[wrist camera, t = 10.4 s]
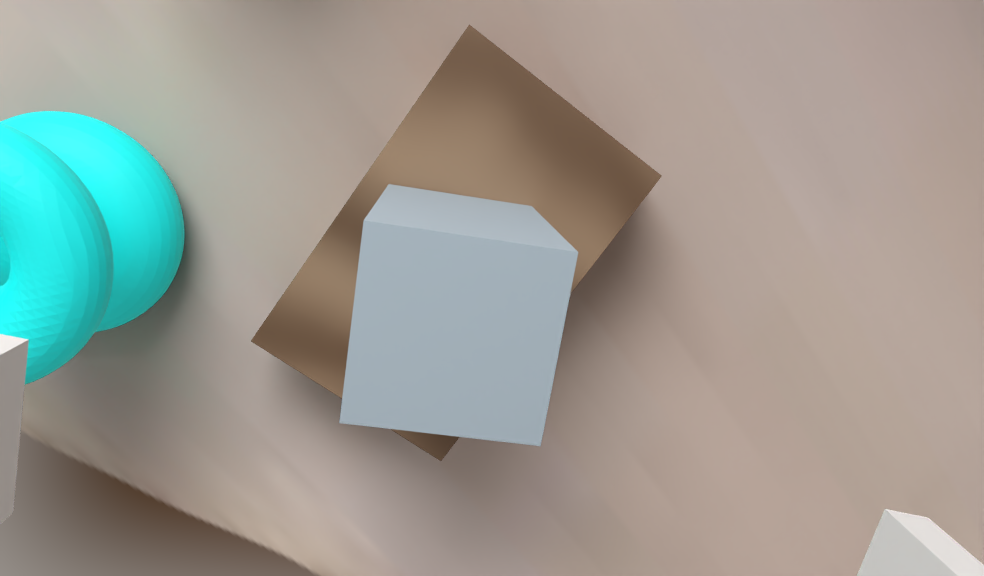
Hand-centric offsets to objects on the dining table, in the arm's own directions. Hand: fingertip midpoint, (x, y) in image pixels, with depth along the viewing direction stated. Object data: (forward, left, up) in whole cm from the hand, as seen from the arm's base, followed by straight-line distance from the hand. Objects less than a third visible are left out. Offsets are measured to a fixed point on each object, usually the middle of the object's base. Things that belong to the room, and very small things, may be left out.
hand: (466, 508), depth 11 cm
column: (0, 0, -20) cm, 20 cm away
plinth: (0, 0, -25) cm, 25 cm away
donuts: (+3, -17, -24) cm, 30 cm away
